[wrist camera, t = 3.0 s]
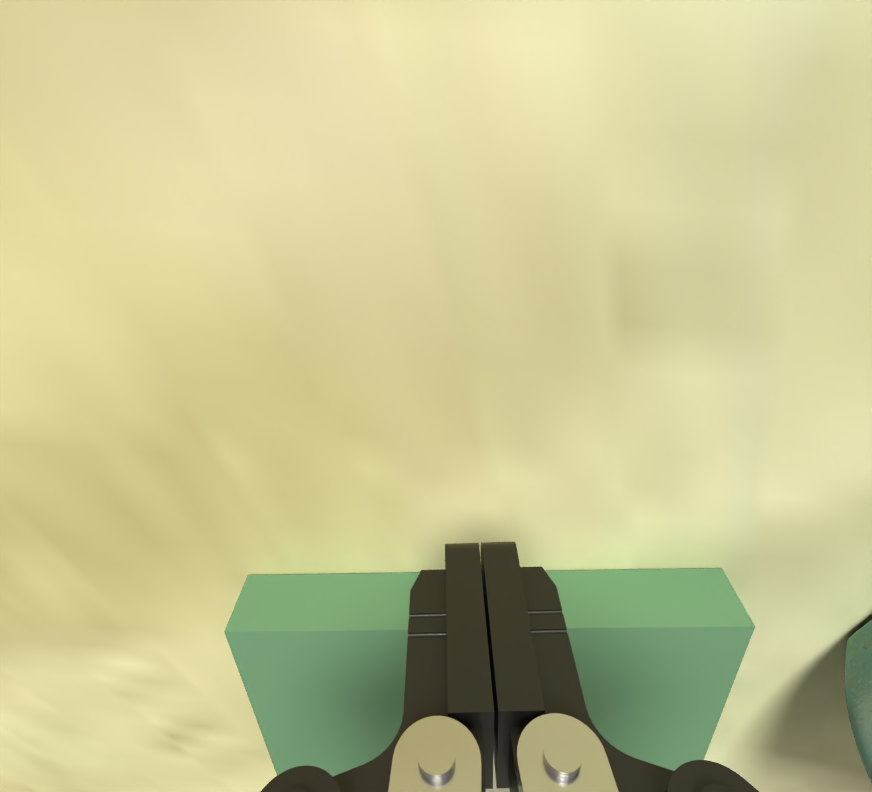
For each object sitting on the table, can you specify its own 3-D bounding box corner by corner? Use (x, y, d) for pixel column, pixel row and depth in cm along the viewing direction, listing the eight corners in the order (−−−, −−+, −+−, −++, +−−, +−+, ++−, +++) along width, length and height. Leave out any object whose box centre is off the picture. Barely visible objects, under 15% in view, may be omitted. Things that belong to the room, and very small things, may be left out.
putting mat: (721, 568, 20) (755, 626, 18) (637, 837, 31) (651, 894, 29) (248, 575, 21) (224, 631, 18) (328, 836, 31) (320, 891, 29)
